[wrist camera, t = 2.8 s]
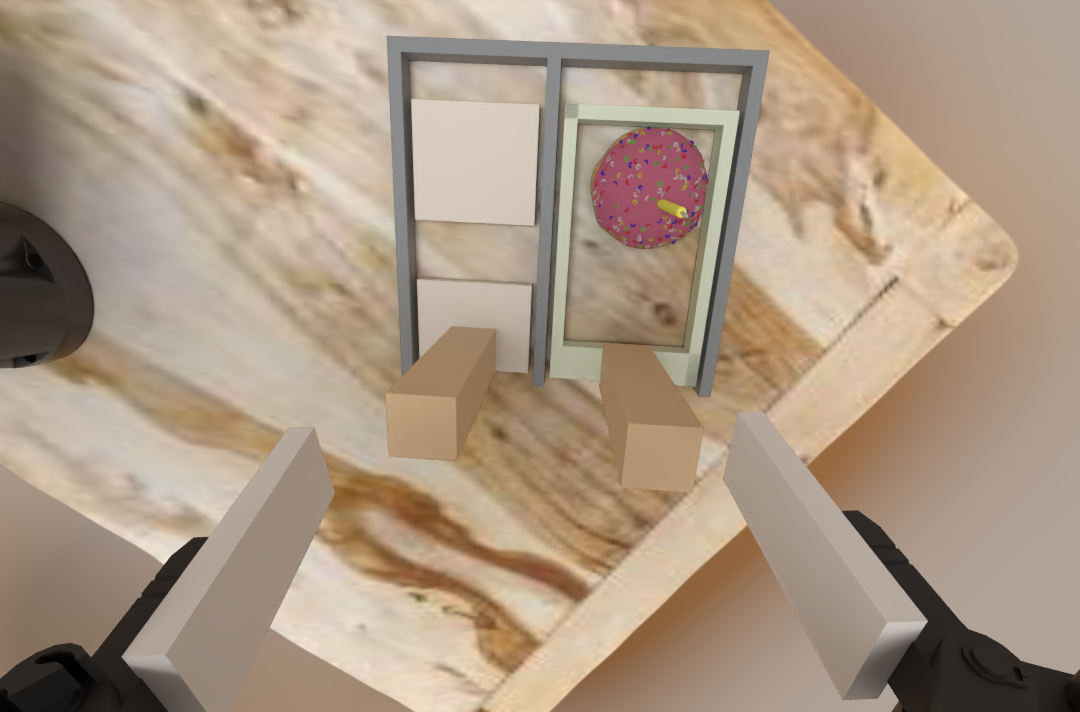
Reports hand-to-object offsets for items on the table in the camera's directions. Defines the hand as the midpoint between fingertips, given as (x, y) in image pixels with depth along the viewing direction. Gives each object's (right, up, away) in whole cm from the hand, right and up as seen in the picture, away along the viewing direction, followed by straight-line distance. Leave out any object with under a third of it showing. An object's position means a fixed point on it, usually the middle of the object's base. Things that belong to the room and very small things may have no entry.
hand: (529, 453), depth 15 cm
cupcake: (+9, +17, +24) cm, 30 cm away
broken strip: (-5, +13, +25) cm, 29 cm away
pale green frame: (+8, +12, +25) cm, 29 cm away
